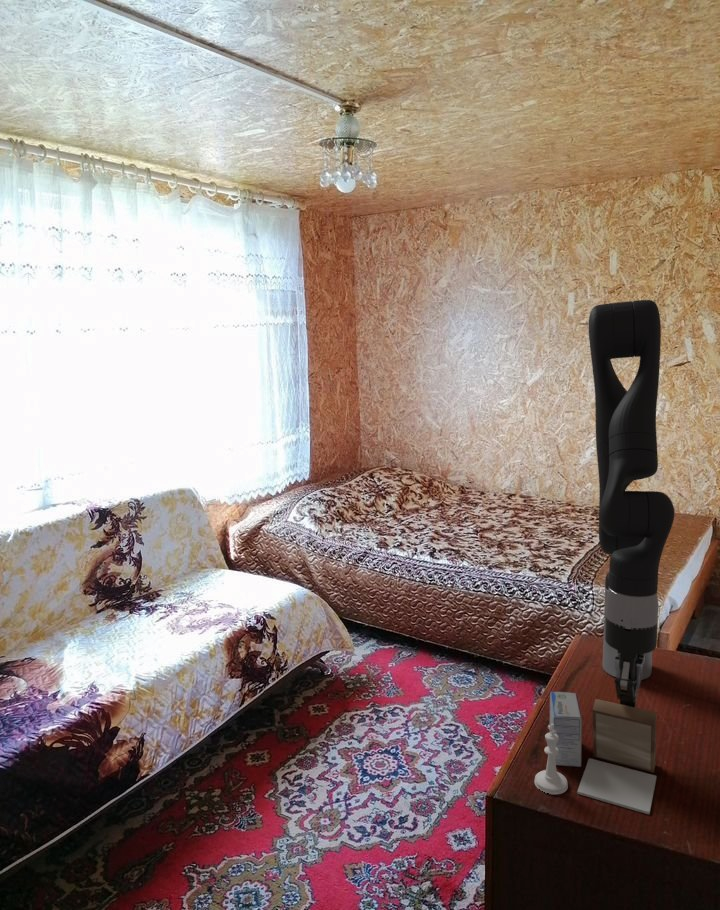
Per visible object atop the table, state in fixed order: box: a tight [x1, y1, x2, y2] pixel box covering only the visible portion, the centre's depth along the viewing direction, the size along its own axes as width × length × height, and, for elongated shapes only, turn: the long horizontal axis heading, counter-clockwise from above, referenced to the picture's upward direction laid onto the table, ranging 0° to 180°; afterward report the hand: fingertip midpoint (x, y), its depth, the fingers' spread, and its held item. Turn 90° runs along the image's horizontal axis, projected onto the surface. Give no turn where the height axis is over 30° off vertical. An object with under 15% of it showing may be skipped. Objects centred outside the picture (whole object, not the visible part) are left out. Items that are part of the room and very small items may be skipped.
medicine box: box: [548, 691, 583, 768], centre depth 111 cm, size 8×4×9 cm, turn 168°
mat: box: [576, 757, 657, 815], centre depth 103 cm, size 9×10×1 cm
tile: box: [592, 698, 658, 773], centre depth 107 cm, size 3×9×10 cm, turn 61°
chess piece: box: [534, 723, 569, 796], centre depth 103 cm, size 5×5×10 cm
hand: (627, 718), depth 109 cm, fingers closed
